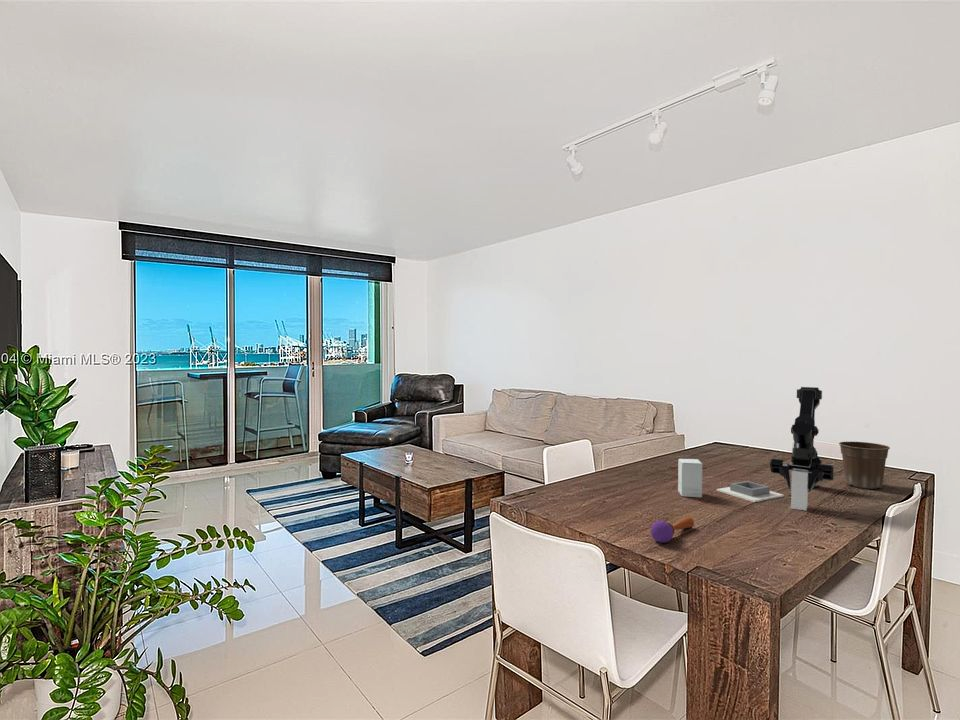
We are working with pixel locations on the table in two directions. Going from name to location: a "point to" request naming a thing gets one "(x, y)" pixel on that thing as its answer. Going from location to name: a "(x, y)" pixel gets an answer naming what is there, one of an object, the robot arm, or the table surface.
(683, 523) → the kendama
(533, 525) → the table surface
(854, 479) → the plant pot
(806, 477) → the square peg
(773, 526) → the table surface
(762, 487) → the dock board
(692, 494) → the supplement box
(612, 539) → the table surface
